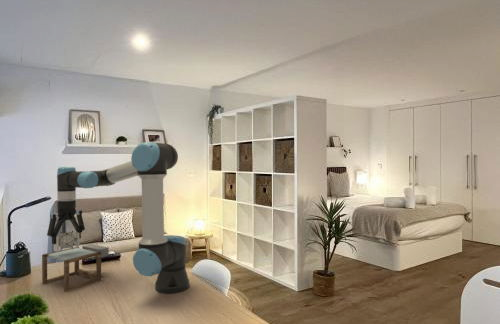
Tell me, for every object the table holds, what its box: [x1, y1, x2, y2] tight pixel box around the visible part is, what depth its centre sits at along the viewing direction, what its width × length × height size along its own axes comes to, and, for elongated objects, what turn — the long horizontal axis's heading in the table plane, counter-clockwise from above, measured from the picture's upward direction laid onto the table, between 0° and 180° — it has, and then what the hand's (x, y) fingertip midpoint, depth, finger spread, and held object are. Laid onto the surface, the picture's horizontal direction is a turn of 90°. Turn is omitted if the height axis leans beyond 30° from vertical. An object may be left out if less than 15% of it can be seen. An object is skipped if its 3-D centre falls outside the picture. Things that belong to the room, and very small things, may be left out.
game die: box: [58, 230, 77, 251], centre depth 155 cm, size 9×8×10 cm
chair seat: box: [47, 243, 110, 262], centre depth 161 cm, size 16×22×4 cm
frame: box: [41, 246, 102, 293], centre depth 157 cm, size 20×17×14 cm
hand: (66, 248), depth 155 cm, fingers closed on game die, 9 cm apart
